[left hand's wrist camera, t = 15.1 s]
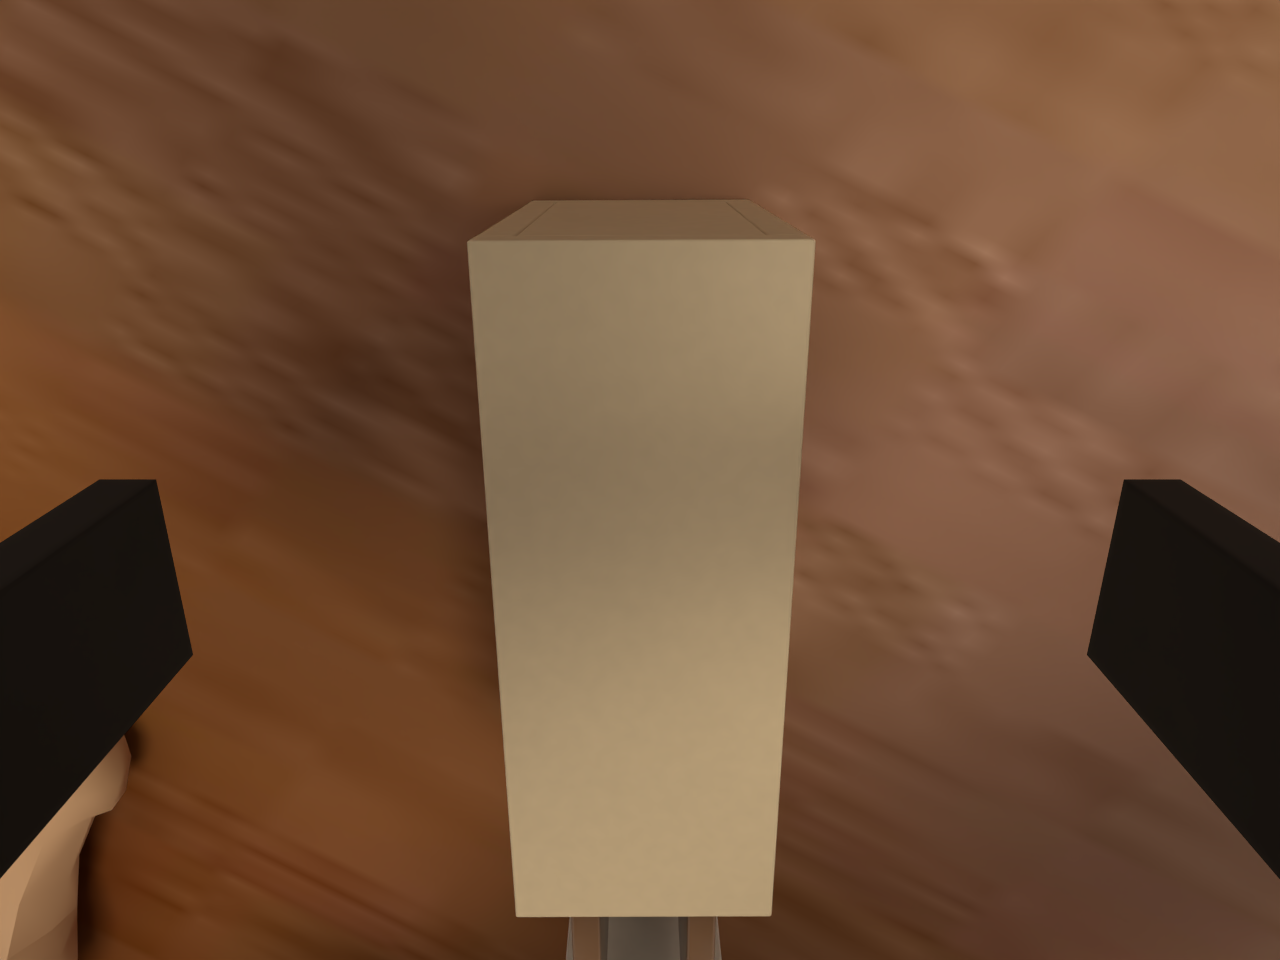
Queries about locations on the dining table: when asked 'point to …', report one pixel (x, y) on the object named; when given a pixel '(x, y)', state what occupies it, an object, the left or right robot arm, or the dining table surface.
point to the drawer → (643, 938)
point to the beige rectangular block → (642, 543)
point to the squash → (57, 870)
